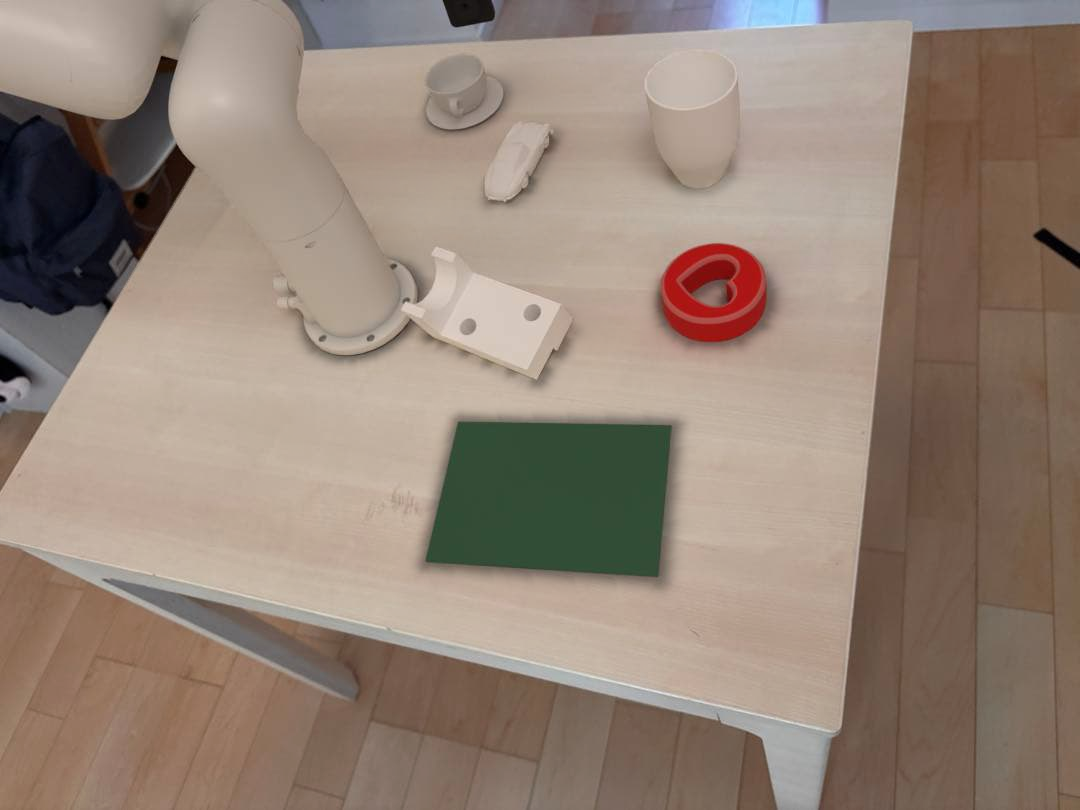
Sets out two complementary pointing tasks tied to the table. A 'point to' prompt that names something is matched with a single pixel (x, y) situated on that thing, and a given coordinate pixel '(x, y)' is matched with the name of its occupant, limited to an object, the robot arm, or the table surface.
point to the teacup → (461, 92)
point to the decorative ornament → (702, 268)
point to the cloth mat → (554, 497)
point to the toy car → (516, 160)
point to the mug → (694, 114)
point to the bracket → (489, 317)
